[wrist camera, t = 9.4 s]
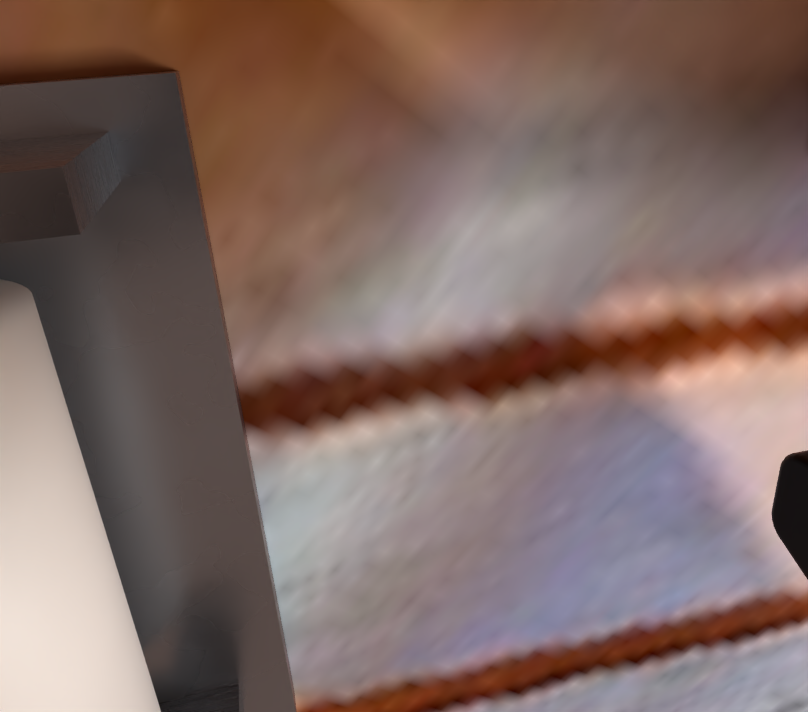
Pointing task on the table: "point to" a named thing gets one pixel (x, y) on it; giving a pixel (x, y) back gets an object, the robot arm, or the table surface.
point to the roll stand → (146, 374)
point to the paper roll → (55, 547)
